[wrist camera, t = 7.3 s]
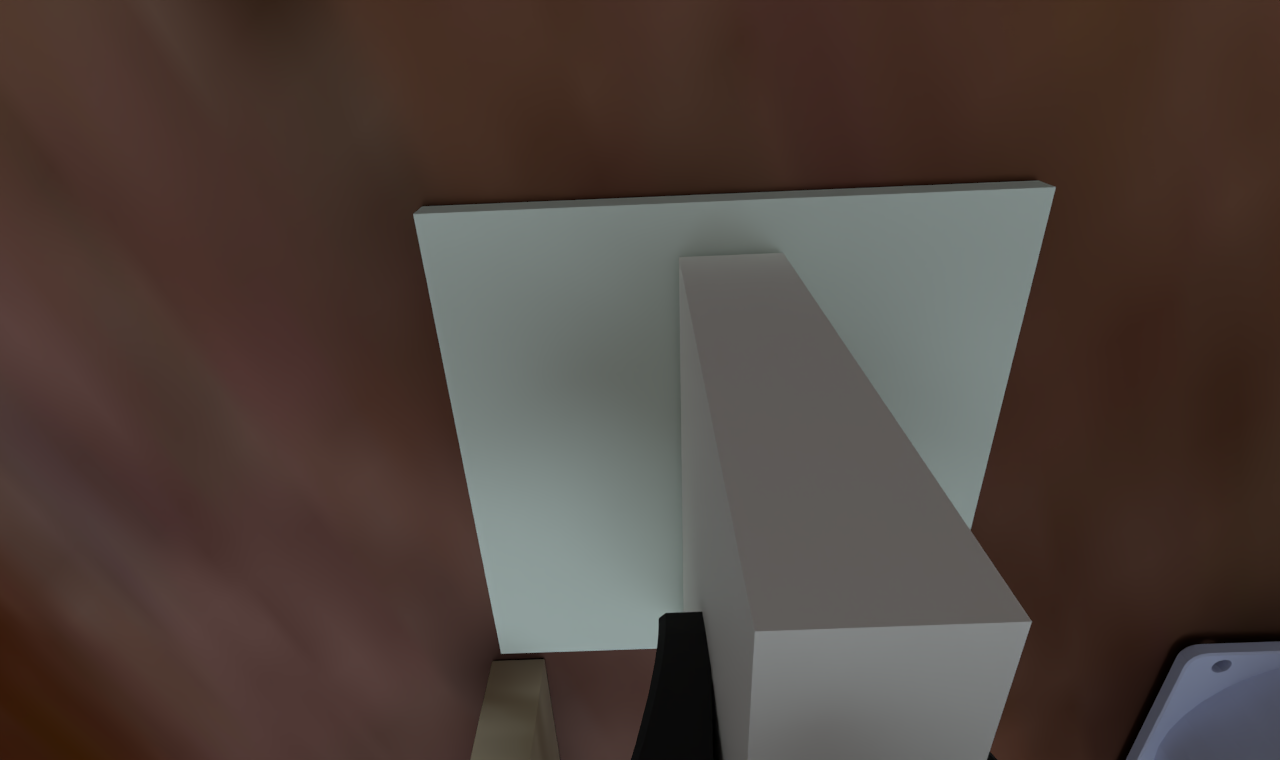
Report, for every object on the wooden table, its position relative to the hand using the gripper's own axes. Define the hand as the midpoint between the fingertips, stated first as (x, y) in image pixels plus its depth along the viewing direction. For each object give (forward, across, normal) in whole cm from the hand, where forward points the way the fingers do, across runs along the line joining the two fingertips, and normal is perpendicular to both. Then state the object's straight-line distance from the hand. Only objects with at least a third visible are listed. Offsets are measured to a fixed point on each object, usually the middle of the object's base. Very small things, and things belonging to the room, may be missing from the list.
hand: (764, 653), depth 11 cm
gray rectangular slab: (+5, 0, 0) cm, 5 cm away
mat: (+6, 0, 0) cm, 6 cm away
